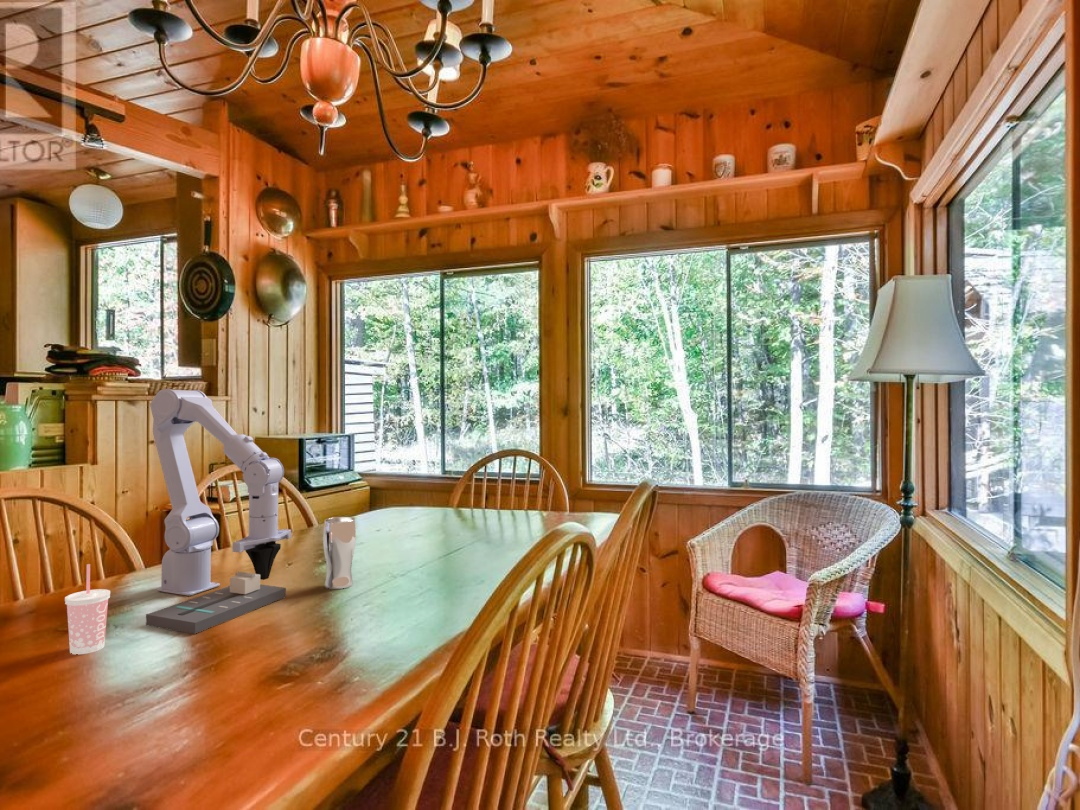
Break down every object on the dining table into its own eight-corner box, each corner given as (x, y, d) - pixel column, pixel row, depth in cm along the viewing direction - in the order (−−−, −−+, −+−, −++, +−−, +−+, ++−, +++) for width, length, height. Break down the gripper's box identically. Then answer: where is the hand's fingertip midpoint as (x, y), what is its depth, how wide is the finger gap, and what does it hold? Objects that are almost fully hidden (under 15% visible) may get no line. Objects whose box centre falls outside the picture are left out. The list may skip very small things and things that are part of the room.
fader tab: (229, 592, 123) (229, 574, 123) (244, 586, 127) (244, 569, 127) (245, 594, 122) (245, 576, 122) (260, 588, 125) (261, 571, 125)
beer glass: (345, 591, 132) (345, 522, 132) (316, 588, 133) (317, 521, 133) (360, 582, 138) (361, 517, 138) (333, 580, 140) (334, 515, 140)
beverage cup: (80, 658, 95) (81, 571, 95) (54, 653, 98) (55, 567, 98) (118, 644, 101) (119, 561, 101) (94, 639, 103) (95, 558, 103)
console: (146, 625, 110) (146, 613, 110) (241, 590, 131) (241, 581, 131) (195, 634, 106) (195, 622, 106) (285, 597, 127) (285, 587, 127)
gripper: (251, 522, 121) (251, 590, 120) (302, 511, 134) (301, 571, 134) (224, 520, 123) (223, 586, 123) (277, 509, 137) (276, 568, 137)
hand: (262, 578), depth 129 cm, fingers closed
